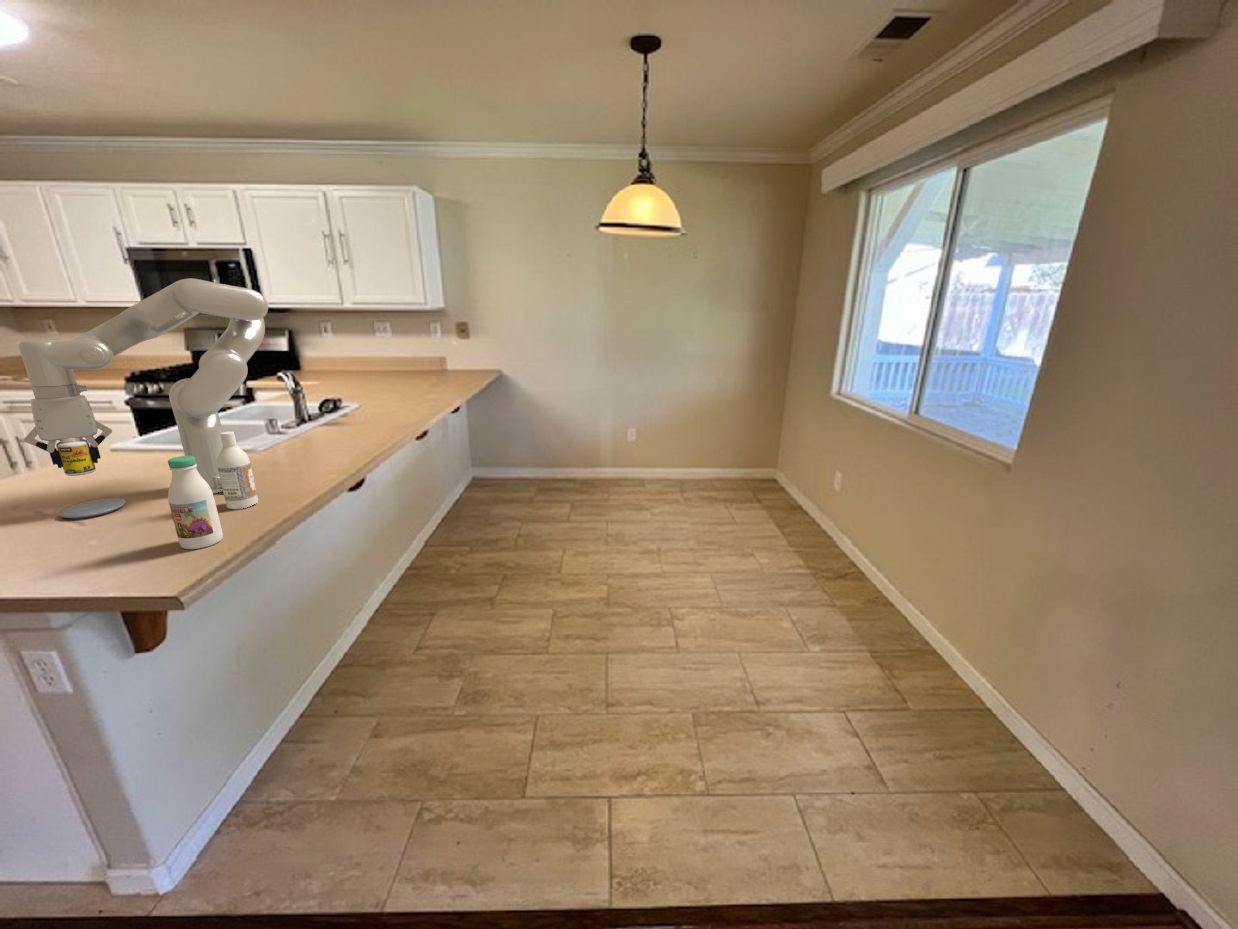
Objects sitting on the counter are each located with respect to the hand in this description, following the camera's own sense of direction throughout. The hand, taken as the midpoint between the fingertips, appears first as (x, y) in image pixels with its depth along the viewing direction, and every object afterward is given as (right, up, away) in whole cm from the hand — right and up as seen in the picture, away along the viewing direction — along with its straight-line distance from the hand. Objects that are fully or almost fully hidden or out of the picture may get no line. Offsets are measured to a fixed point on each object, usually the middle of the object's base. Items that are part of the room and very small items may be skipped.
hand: (78, 463), depth 128 cm
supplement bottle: (0, -3, +1) cm, 3 cm away
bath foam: (+34, -11, +9) cm, 37 cm away
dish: (0, -12, +4) cm, 13 cm away
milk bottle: (+41, -18, -12) cm, 46 cm away
